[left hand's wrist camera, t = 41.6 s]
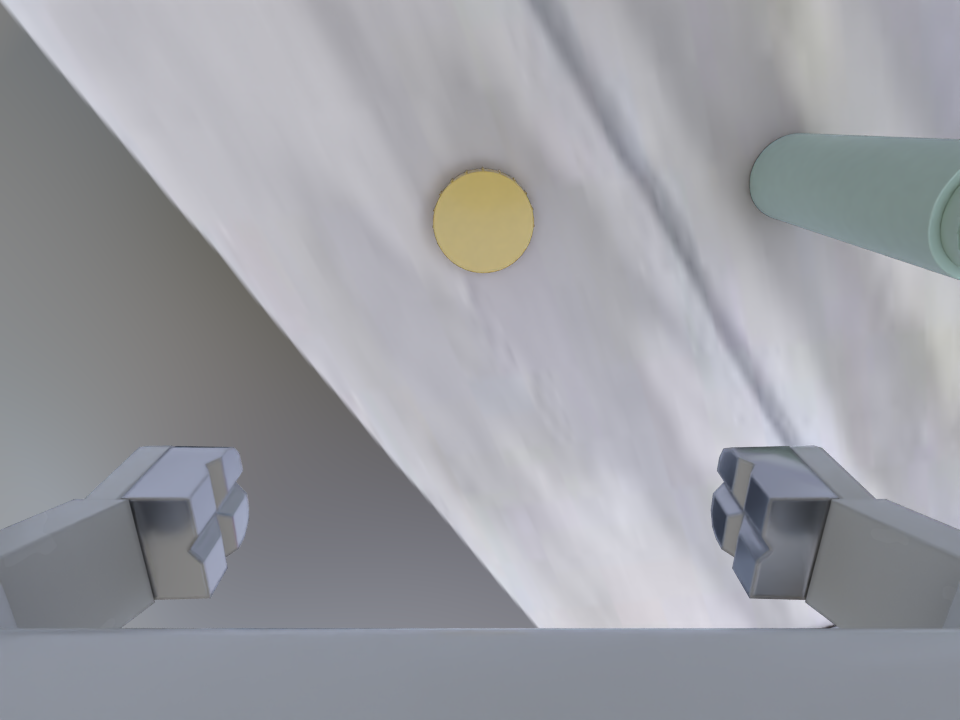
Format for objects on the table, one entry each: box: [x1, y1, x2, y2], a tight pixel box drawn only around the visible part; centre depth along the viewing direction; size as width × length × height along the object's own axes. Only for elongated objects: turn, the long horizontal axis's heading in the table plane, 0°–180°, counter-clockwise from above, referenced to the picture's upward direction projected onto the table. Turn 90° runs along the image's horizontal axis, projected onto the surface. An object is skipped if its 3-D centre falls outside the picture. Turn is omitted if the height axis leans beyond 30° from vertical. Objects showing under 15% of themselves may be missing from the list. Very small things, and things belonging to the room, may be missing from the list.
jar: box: [750, 133, 960, 280], centre depth 28 cm, size 5×5×17 cm
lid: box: [433, 167, 534, 273], centre depth 36 cm, size 6×6×2 cm
